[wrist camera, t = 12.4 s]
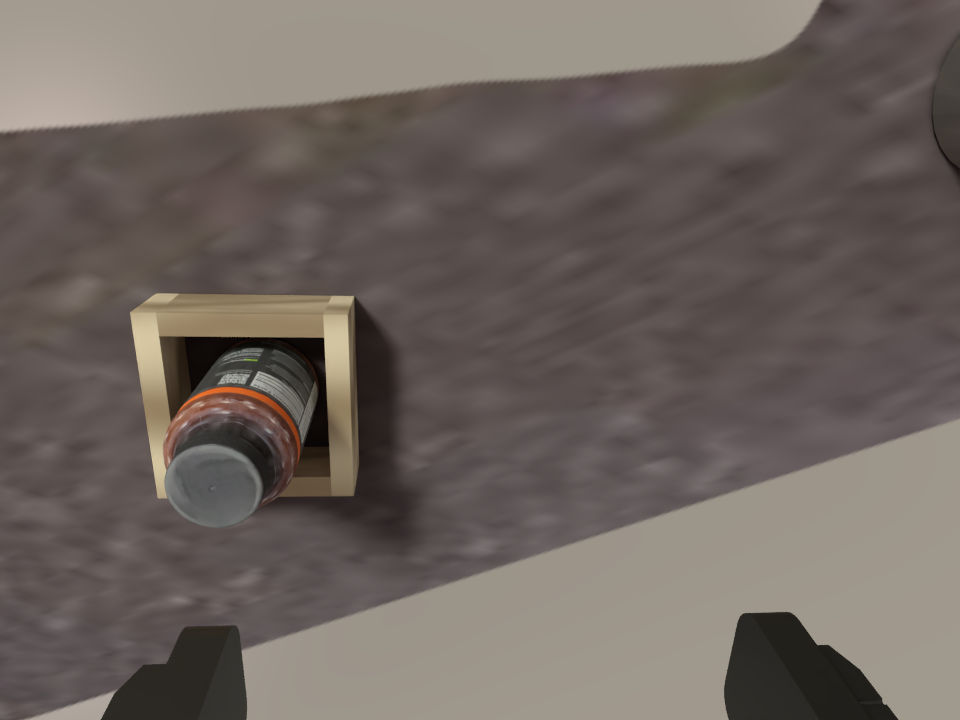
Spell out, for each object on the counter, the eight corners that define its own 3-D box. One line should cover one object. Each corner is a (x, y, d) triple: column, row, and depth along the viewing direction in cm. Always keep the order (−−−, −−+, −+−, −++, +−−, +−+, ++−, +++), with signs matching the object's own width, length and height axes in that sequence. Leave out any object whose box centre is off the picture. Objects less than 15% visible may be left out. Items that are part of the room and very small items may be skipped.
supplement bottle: (255, 448, 40) (196, 572, 30) (191, 367, 38) (103, 469, 28) (342, 399, 40) (313, 509, 29) (281, 314, 37) (226, 398, 27)
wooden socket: (156, 293, 37) (130, 312, 33) (354, 296, 37) (347, 314, 34) (179, 465, 40) (158, 498, 37) (359, 464, 41) (353, 496, 38)
